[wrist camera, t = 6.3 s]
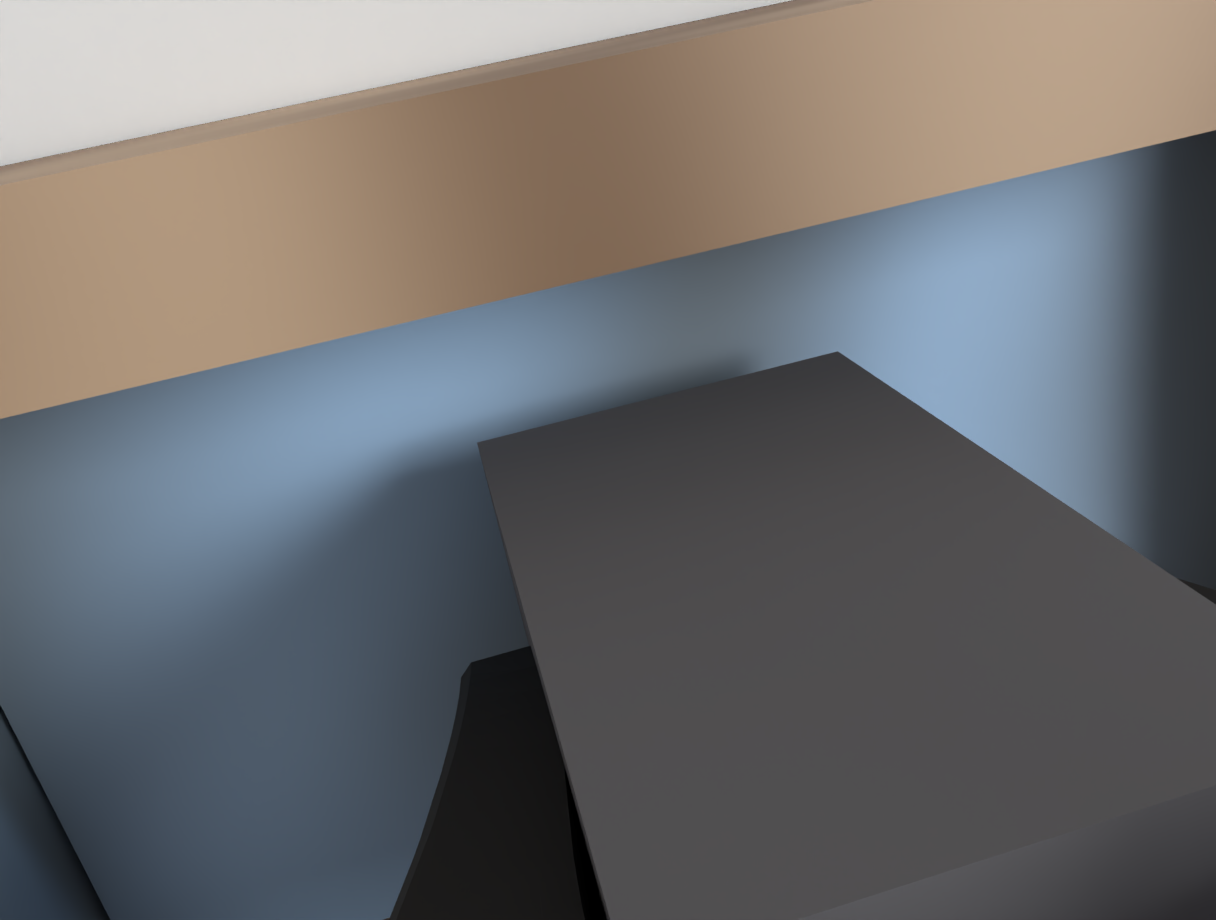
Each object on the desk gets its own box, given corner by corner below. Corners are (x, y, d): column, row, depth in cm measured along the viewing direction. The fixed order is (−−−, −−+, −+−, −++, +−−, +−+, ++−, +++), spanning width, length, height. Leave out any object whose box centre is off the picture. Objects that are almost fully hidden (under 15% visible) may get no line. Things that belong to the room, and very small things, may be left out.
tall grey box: (837, 351, 10) (1399, 726, 5) (879, 764, 12) (1303, 1363, 7) (476, 442, 10) (625, 973, 4) (582, 855, 12) (776, 1578, 6)
